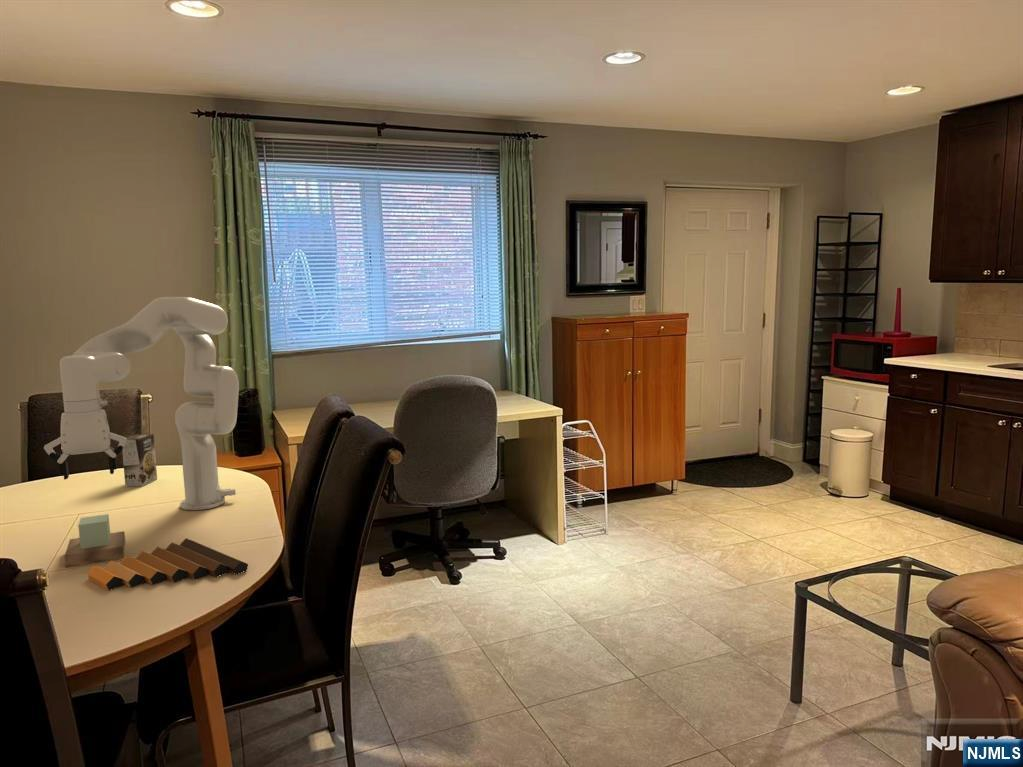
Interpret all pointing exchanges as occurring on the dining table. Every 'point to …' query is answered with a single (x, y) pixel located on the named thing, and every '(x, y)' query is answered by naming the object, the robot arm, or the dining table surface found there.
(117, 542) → the walnut stand
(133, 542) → the dining table surface
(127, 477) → the coffee box
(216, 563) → the pan flute
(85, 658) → the dining table surface
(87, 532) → the sage cube
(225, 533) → the dining table surface
